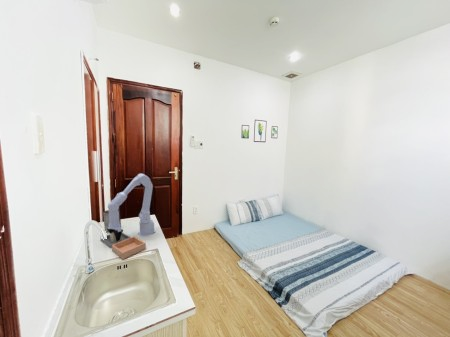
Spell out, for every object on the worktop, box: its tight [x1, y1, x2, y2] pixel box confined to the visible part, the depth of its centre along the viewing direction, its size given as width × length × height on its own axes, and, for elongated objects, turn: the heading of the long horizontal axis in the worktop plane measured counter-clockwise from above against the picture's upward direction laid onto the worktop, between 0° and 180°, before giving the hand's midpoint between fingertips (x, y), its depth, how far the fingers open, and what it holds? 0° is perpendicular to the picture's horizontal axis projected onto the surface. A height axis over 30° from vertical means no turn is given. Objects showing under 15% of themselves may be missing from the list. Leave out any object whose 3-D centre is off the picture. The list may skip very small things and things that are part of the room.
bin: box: [111, 236, 147, 260], centre depth 118 cm, size 14×14×4 cm
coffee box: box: [102, 208, 122, 234], centre depth 143 cm, size 9×6×16 cm
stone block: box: [109, 233, 121, 243], centre depth 128 cm, size 5×5×5 cm
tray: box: [99, 232, 132, 249], centre depth 128 cm, size 13×16×2 cm
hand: (115, 238), depth 128 cm, fingers open, 7 cm apart
